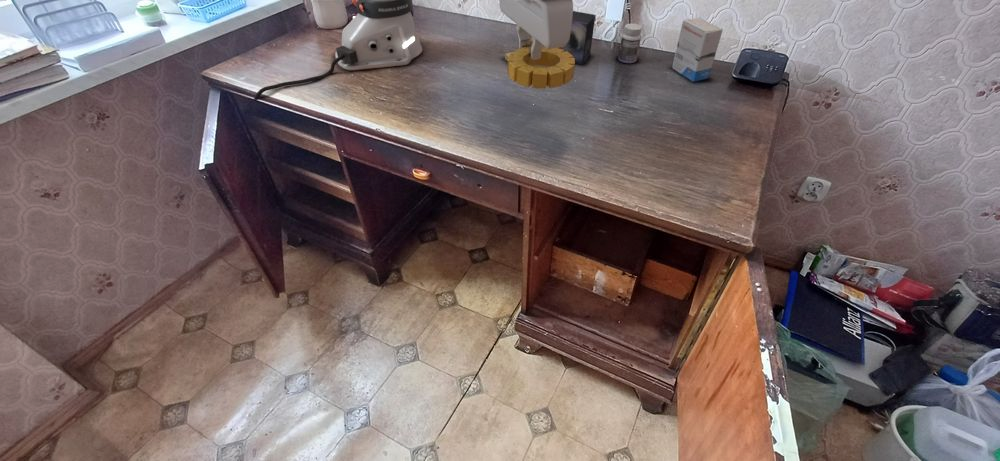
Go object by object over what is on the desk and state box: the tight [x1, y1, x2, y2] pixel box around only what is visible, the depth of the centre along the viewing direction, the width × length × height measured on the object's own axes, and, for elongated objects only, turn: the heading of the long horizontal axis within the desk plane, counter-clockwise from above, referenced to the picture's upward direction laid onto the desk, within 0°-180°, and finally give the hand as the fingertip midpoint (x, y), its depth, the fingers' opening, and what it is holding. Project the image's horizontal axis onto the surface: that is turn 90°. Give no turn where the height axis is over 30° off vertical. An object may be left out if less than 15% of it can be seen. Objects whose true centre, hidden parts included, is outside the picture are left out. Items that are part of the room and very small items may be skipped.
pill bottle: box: [617, 23, 643, 64], centre depth 117 cm, size 5×5×8 cm
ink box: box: [671, 17, 724, 83], centre depth 110 cm, size 9×5×12 cm, turn 21°
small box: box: [559, 10, 597, 65], centre depth 118 cm, size 11×6×10 cm, turn 62°
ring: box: [507, 46, 576, 90], centre depth 82 cm, size 12×12×3 cm
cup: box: [310, 0, 349, 30], centre depth 136 cm, size 10×10×10 cm
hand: (529, 54), depth 85 cm, fingers closed on ring, 2 cm apart
